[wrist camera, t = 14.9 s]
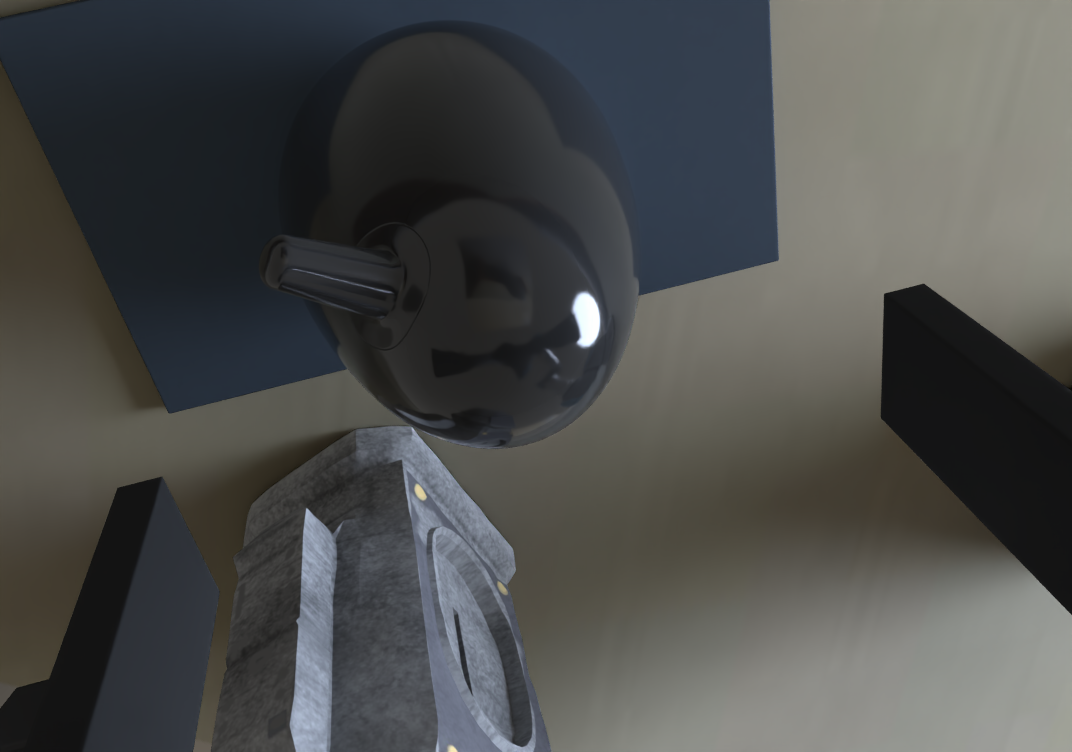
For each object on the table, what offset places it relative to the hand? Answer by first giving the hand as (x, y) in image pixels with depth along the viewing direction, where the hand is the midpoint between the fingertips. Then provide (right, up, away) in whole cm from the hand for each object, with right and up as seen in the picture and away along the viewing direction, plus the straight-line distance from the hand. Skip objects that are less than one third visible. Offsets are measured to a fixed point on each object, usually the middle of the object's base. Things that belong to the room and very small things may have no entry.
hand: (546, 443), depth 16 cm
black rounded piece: (-4, +9, +15) cm, 17 cm away
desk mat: (-4, +9, +15) cm, 18 cm away
